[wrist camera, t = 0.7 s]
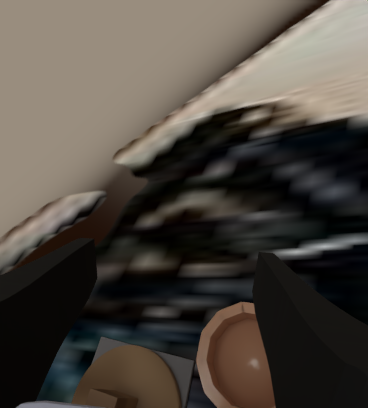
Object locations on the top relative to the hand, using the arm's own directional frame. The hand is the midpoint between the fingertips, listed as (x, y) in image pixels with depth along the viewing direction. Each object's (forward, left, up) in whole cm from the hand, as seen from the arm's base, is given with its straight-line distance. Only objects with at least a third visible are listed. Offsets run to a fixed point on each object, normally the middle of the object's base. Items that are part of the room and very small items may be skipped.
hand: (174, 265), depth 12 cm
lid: (-8, +8, -16) cm, 20 cm away
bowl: (-2, -2, -16) cm, 16 cm away
